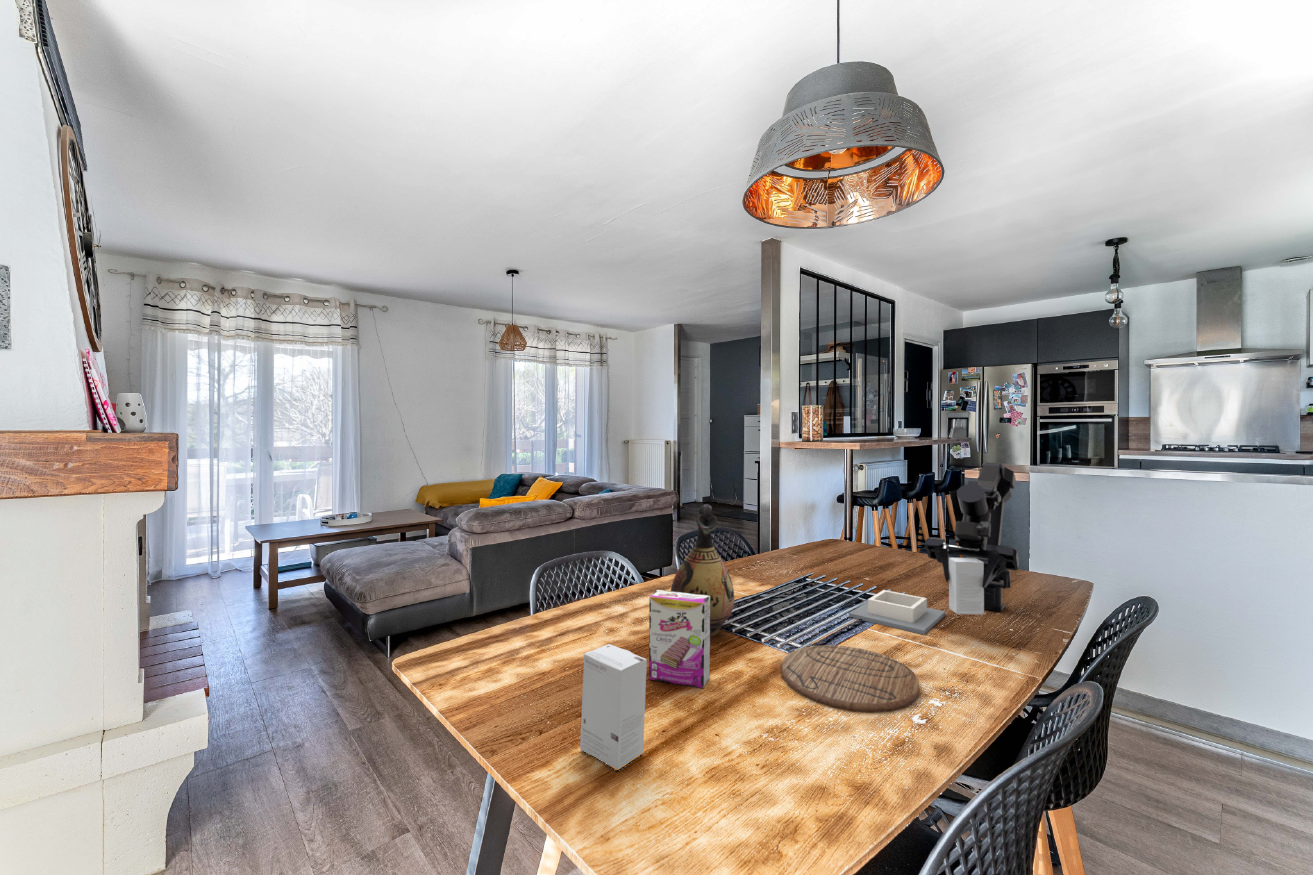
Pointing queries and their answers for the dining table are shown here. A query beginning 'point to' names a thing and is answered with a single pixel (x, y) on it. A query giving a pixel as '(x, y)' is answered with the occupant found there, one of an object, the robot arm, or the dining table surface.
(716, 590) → the ceramic jug
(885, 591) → the holder
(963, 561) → the skincare box
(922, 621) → the slate board
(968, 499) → the robot arm
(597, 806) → the dining table surface
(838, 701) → the trivet
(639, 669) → the skincare box
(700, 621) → the candy bar box
